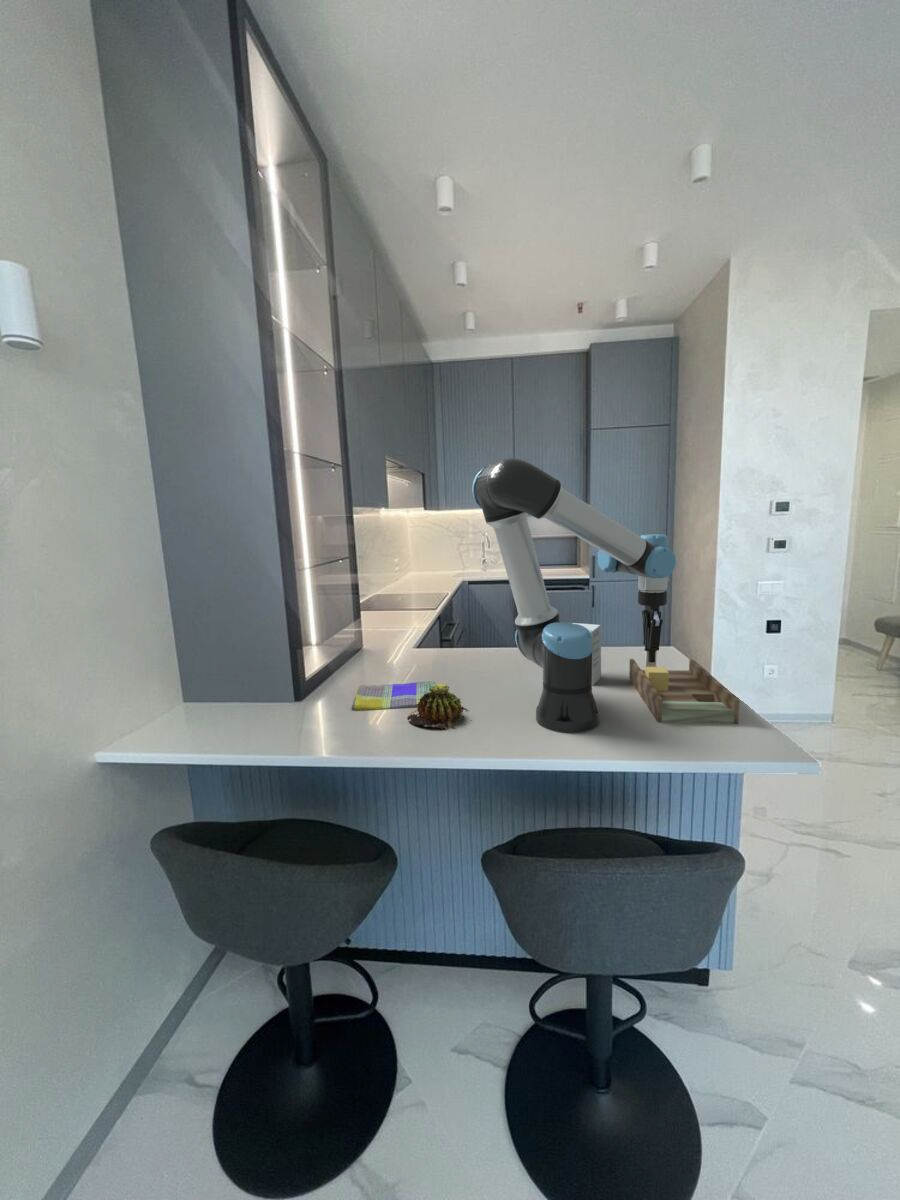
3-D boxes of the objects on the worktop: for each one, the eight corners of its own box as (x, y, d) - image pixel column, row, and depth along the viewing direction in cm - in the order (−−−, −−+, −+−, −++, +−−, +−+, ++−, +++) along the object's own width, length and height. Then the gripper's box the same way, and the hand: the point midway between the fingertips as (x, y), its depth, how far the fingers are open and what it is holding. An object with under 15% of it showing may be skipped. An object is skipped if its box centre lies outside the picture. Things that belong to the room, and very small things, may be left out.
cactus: (480, 710, 134) (479, 675, 132) (465, 736, 119) (463, 696, 117) (419, 705, 139) (418, 671, 137) (397, 729, 124) (395, 692, 122)
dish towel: (438, 710, 135) (438, 700, 135) (348, 713, 135) (347, 704, 135) (438, 688, 153) (438, 679, 152) (358, 691, 153) (358, 682, 152)
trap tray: (737, 726, 118) (739, 700, 116) (657, 724, 120) (658, 698, 119) (692, 680, 150) (693, 659, 149) (629, 679, 152) (629, 658, 151)
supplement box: (601, 677, 155) (602, 624, 152) (593, 687, 147) (593, 631, 144) (571, 673, 160) (571, 622, 157) (561, 682, 152) (561, 628, 149)
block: (668, 690, 134) (668, 672, 133) (648, 690, 135) (648, 672, 134) (663, 684, 139) (663, 666, 138) (644, 684, 139) (644, 666, 139)
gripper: (673, 594, 132) (670, 679, 136) (660, 586, 145) (658, 665, 149) (643, 594, 133) (641, 679, 137) (633, 587, 146) (631, 665, 150)
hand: (650, 671), depth 143 cm, fingers closed
